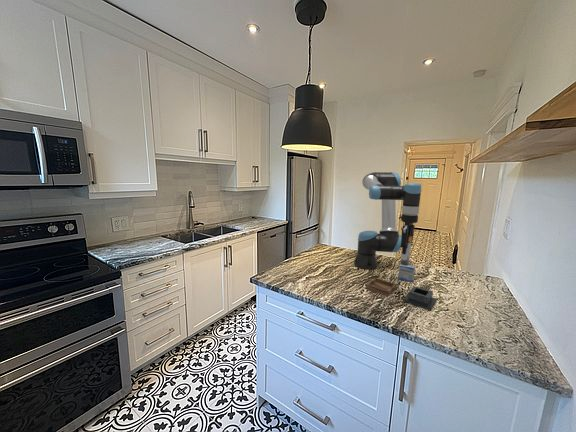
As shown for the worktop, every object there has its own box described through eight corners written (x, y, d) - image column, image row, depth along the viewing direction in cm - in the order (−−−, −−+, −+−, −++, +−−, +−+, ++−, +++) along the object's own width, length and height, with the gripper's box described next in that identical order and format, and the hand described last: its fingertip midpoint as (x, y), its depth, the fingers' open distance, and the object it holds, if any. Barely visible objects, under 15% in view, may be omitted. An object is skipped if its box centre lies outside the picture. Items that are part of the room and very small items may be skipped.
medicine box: (398, 279, 143) (399, 265, 142) (398, 276, 147) (399, 263, 146) (413, 282, 140) (414, 268, 138) (413, 279, 144) (414, 265, 142)
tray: (374, 281, 140) (374, 277, 139) (396, 288, 132) (396, 284, 131) (365, 289, 131) (365, 284, 130) (388, 296, 123) (388, 291, 122)
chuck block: (410, 292, 127) (411, 283, 126) (436, 301, 119) (437, 291, 118) (402, 301, 118) (403, 291, 117) (430, 310, 110) (432, 300, 110)
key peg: (401, 262, 130) (404, 234, 128) (409, 264, 128) (412, 236, 125) (399, 264, 127) (402, 236, 125) (407, 266, 125) (410, 237, 122)
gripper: (407, 211, 131) (402, 252, 136) (396, 215, 119) (392, 260, 123) (422, 213, 127) (417, 256, 131) (413, 217, 114) (407, 264, 118)
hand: (405, 258), depth 127 cm, fingers closed on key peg, 4 cm apart
